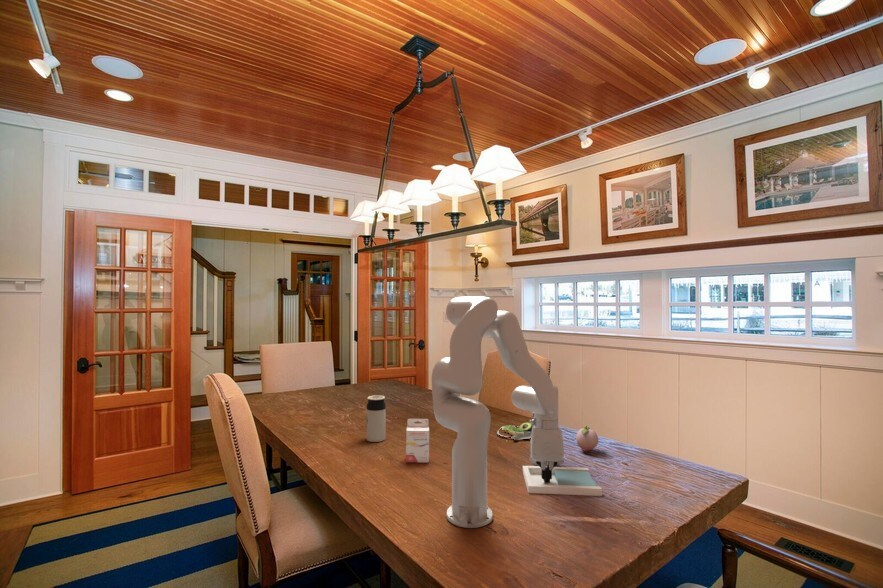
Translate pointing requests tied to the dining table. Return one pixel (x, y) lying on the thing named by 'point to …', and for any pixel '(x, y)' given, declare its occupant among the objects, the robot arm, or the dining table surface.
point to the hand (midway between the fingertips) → (546, 481)
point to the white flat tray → (555, 483)
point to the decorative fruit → (586, 439)
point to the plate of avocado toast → (518, 431)
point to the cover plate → (574, 478)
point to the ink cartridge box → (417, 441)
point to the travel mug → (376, 418)
